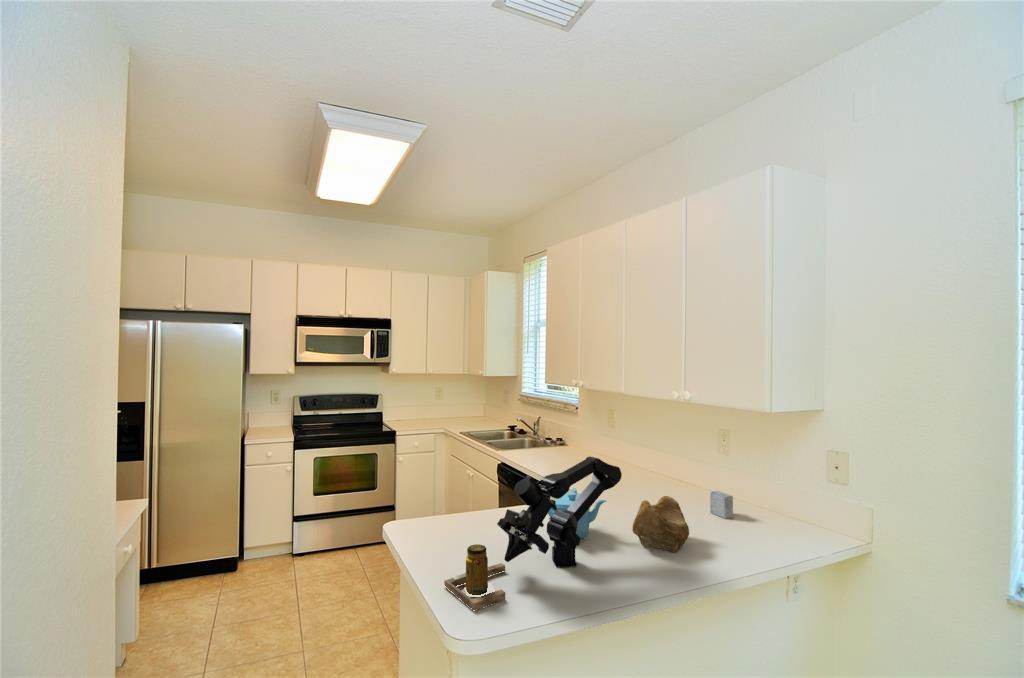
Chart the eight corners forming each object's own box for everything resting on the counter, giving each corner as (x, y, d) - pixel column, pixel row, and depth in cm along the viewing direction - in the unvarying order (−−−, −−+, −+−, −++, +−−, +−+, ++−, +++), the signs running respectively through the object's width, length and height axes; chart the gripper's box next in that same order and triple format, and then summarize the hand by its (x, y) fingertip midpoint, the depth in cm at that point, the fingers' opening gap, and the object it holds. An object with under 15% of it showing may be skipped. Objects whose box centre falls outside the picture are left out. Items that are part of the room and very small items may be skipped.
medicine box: (733, 517, 199) (733, 495, 199) (724, 519, 198) (724, 497, 198) (718, 511, 207) (718, 490, 207) (710, 513, 205) (709, 491, 205)
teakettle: (568, 548, 169) (569, 504, 169) (535, 531, 184) (535, 490, 184) (609, 536, 179) (609, 495, 179) (574, 521, 195) (574, 483, 195)
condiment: (462, 586, 142) (462, 543, 142) (492, 583, 144) (492, 541, 144) (466, 599, 135) (466, 554, 135) (497, 595, 137) (497, 551, 137)
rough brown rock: (669, 565, 158) (674, 518, 157) (624, 546, 169) (628, 502, 169) (702, 547, 174) (707, 504, 173) (659, 530, 186) (663, 490, 185)
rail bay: (501, 569, 153) (501, 562, 153) (533, 589, 140) (533, 581, 140) (444, 587, 141) (444, 579, 141) (473, 611, 129) (473, 602, 129)
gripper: (501, 491, 155) (471, 535, 148) (540, 507, 140) (508, 557, 133) (522, 511, 160) (493, 555, 153) (562, 529, 144) (532, 578, 138)
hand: (505, 561), depth 144 cm, fingers closed
